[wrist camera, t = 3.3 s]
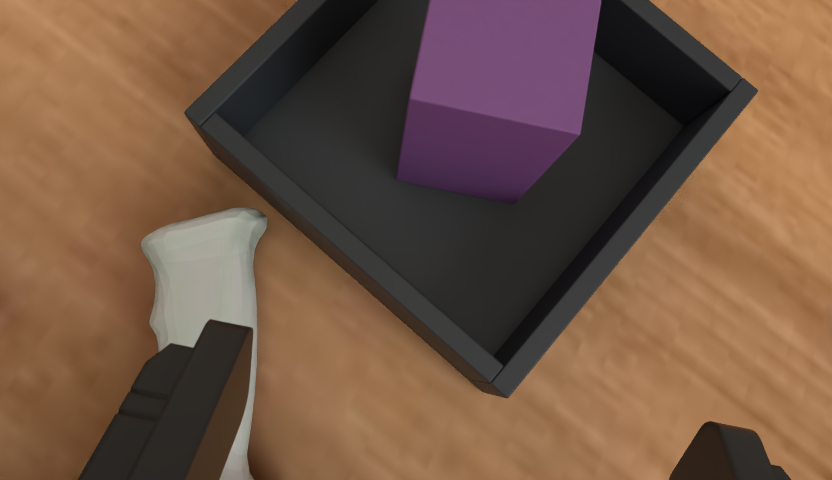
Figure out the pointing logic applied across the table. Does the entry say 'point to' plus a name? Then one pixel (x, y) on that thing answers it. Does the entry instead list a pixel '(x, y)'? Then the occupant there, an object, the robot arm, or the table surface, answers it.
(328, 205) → the tray
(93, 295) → the table surface
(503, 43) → the plum block
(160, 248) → the tape dispenser
